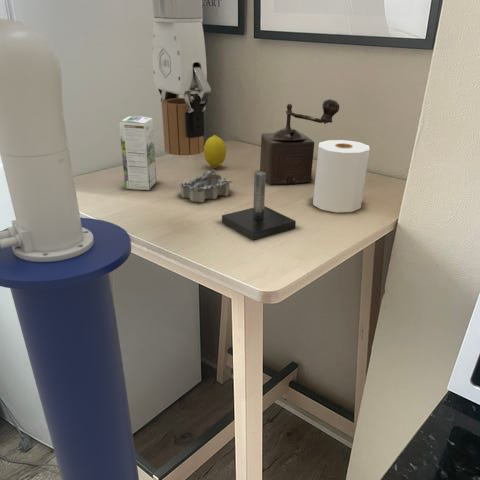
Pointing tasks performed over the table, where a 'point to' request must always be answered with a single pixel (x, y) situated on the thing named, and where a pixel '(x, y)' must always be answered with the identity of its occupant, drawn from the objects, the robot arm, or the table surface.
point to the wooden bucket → (178, 129)
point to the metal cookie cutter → (205, 187)
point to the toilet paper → (340, 175)
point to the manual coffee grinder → (291, 149)
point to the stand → (258, 215)
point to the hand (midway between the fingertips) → (183, 131)
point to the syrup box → (138, 152)
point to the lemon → (214, 151)
